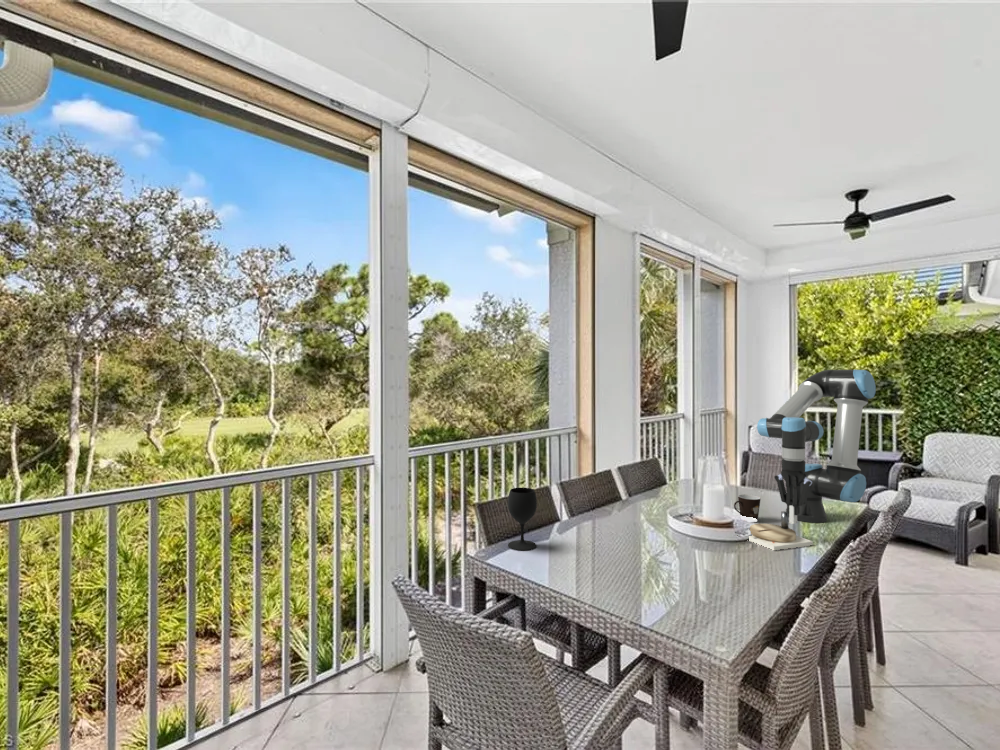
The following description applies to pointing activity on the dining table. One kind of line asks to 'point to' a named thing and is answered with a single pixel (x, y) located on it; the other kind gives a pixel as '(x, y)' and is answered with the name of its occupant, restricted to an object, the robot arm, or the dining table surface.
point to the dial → (775, 530)
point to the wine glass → (522, 514)
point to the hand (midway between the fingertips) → (793, 522)
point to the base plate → (781, 543)
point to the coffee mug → (748, 505)
